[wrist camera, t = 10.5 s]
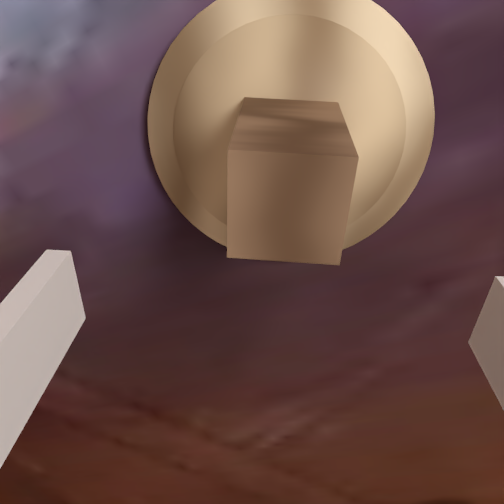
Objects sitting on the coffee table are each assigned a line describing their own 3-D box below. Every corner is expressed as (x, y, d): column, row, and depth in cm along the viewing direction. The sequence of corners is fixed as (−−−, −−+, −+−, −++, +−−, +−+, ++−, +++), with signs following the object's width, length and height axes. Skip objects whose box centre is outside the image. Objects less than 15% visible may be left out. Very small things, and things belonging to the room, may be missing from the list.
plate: (162, 245, 30) (159, 253, 29) (136, -30, 21) (131, -30, 20) (395, 261, 29) (398, 269, 29) (469, -16, 21) (476, -15, 20)
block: (242, 183, 26) (227, 257, 19) (244, 97, 23) (227, 149, 17) (325, 188, 26) (339, 265, 19) (338, 102, 23) (358, 157, 16)
